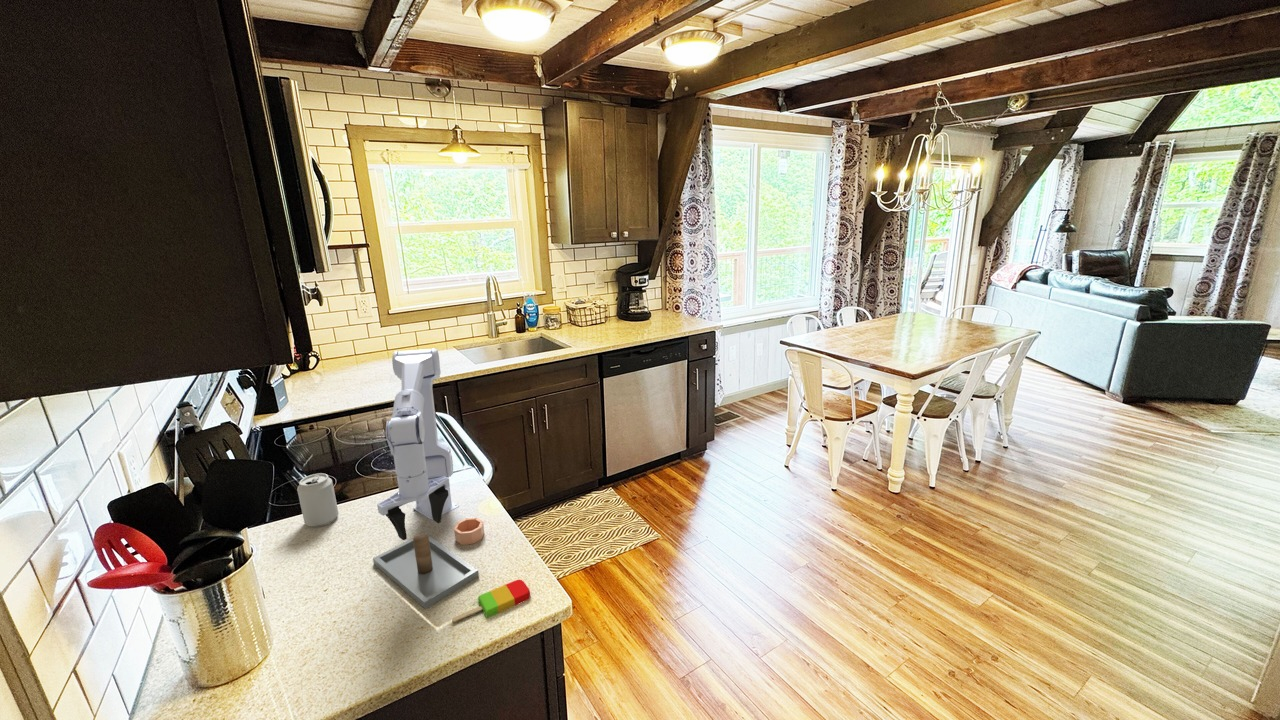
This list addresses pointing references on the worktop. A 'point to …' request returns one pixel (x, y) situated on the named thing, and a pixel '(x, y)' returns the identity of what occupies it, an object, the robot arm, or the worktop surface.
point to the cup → (469, 531)
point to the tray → (432, 585)
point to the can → (317, 500)
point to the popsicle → (499, 599)
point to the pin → (423, 553)
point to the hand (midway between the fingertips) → (420, 529)
